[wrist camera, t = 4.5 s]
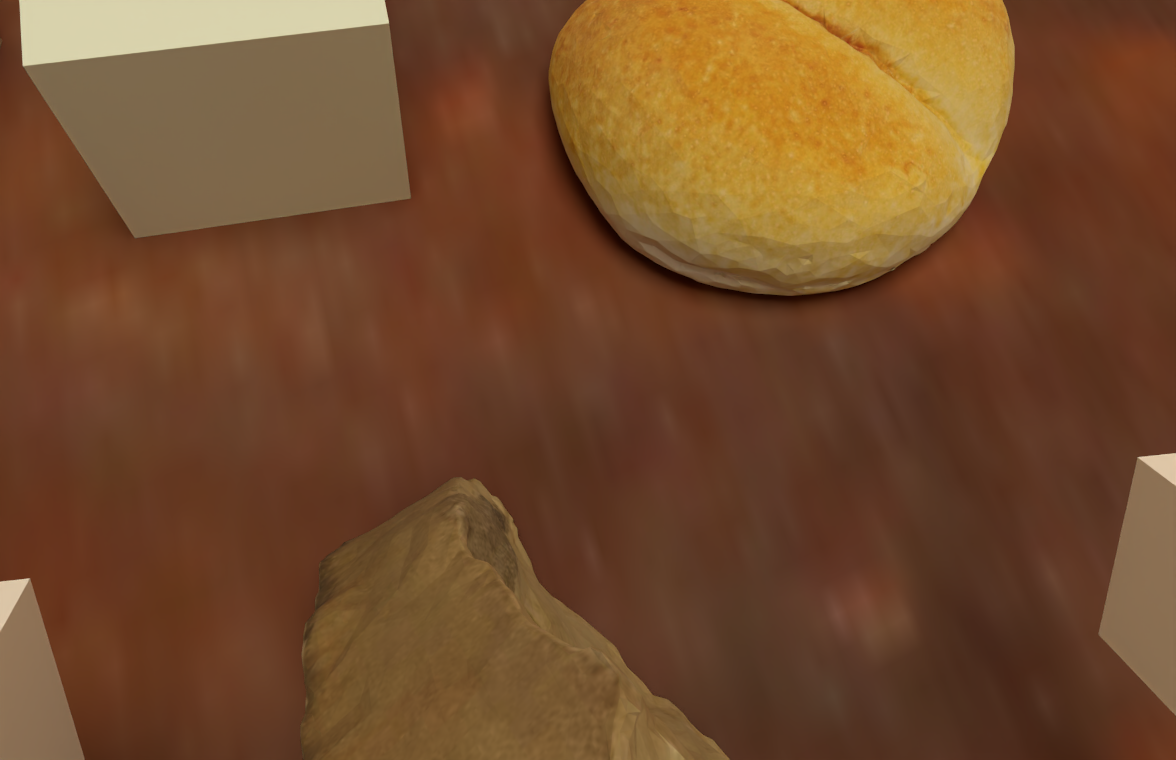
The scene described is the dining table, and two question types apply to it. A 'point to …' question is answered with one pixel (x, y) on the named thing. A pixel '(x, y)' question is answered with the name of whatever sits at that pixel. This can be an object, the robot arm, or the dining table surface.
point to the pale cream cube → (223, 105)
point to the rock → (467, 652)
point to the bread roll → (782, 130)
